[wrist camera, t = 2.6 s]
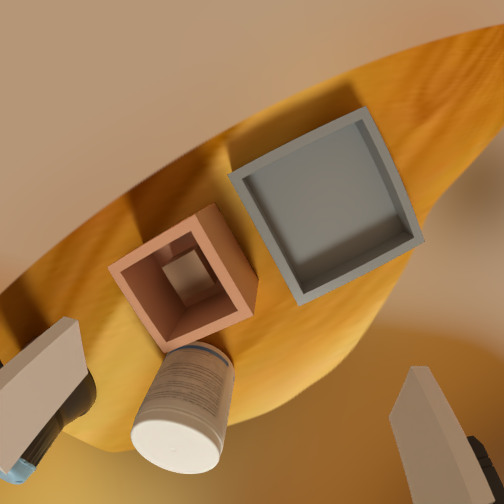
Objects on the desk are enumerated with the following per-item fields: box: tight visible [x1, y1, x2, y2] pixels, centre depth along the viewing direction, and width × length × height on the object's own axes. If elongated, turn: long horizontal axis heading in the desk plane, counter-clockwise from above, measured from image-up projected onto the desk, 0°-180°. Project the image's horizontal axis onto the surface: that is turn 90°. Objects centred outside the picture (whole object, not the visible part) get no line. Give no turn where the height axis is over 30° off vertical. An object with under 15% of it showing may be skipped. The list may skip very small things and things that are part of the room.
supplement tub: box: [131, 341, 235, 474], centre depth 33 cm, size 10×10×15 cm
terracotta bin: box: [107, 202, 259, 353], centre depth 32 cm, size 10×10×9 cm
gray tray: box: [228, 106, 425, 306], centre depth 32 cm, size 15×15×4 cm
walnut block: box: [162, 243, 218, 301], centre depth 33 cm, size 4×4×4 cm
